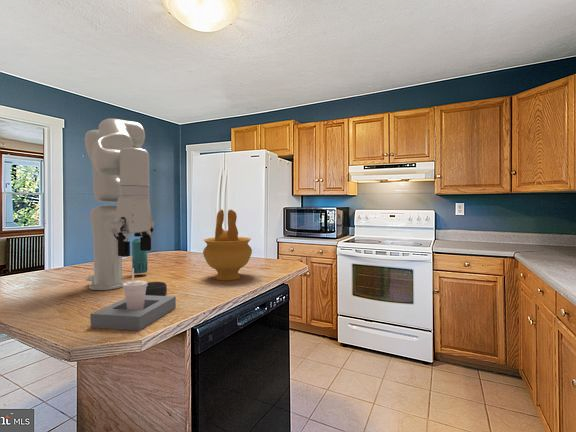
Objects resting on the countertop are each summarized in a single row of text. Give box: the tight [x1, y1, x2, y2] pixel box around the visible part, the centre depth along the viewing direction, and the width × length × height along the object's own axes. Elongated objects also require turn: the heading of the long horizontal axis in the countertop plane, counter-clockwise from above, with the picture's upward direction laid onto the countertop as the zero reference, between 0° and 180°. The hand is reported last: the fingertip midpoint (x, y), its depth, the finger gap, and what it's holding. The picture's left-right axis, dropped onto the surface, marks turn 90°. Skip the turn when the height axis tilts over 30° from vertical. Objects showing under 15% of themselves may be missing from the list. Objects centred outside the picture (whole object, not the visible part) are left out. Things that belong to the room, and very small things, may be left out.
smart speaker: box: [145, 281, 168, 296], centre depth 112 cm, size 9×9×4 cm
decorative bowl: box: [202, 209, 253, 281], centre depth 138 cm, size 21×21×30 cm
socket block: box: [89, 295, 177, 331], centre depth 90 cm, size 14×18×4 cm
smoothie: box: [122, 267, 148, 310], centre depth 89 cm, size 6×6×14 cm
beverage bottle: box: [131, 233, 149, 275], centre depth 143 cm, size 6×7×20 cm
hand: (135, 253), depth 90 cm, fingers open, 9 cm apart
